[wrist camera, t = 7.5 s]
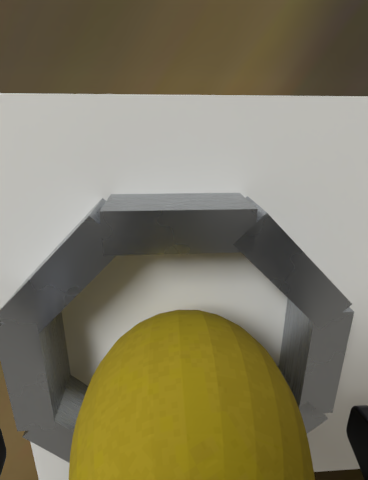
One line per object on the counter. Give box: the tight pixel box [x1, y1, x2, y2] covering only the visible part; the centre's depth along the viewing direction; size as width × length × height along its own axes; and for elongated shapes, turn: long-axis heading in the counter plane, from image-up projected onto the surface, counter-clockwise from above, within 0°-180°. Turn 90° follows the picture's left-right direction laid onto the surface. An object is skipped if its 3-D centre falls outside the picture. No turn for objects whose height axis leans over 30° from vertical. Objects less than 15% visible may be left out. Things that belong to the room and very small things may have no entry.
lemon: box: [69, 310, 315, 480], centre depth 8 cm, size 6×6×8 cm
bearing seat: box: [0, 193, 354, 463], centre depth 11 cm, size 10×10×2 cm
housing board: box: [0, 93, 368, 480], centre depth 13 cm, size 24×16×1 cm
